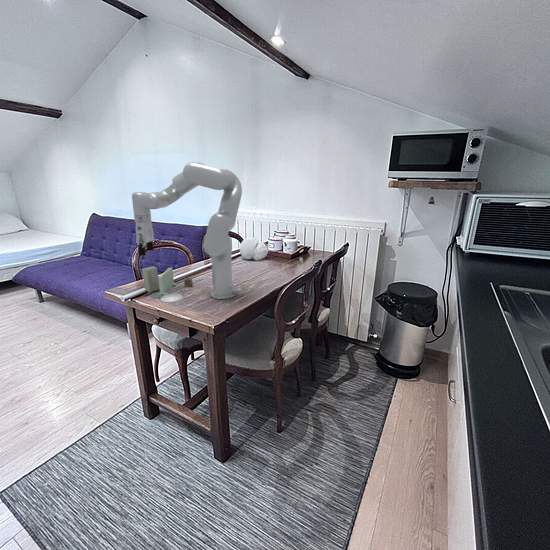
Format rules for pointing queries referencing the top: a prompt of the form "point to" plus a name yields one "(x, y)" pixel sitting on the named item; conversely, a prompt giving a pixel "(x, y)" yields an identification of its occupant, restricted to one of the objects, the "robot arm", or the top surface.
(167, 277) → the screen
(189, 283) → the walnut cube
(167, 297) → the coaster
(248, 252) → the cauliflower
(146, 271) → the skincare box
